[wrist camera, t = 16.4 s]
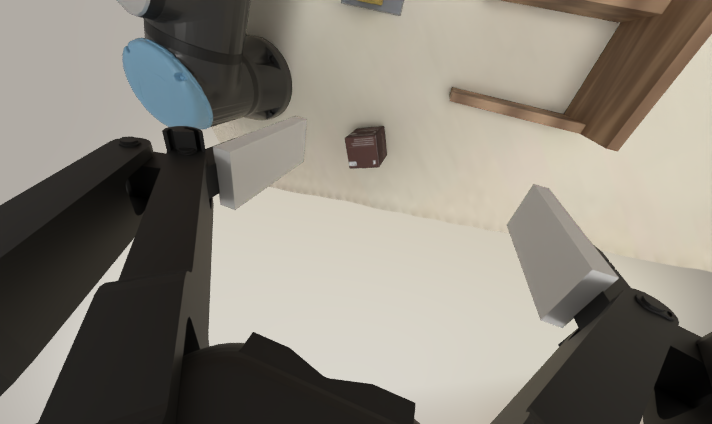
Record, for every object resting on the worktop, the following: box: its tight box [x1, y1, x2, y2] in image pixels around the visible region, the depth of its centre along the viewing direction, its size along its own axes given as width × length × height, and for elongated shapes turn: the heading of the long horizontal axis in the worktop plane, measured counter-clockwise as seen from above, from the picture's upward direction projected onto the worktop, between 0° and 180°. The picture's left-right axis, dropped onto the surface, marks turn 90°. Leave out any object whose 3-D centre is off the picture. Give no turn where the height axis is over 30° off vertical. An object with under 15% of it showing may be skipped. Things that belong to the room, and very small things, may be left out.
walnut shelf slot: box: [449, 0, 712, 151], centre depth 33 cm, size 19×14×15 cm
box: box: [345, 126, 387, 168], centre depth 49 cm, size 6×6×7 cm
